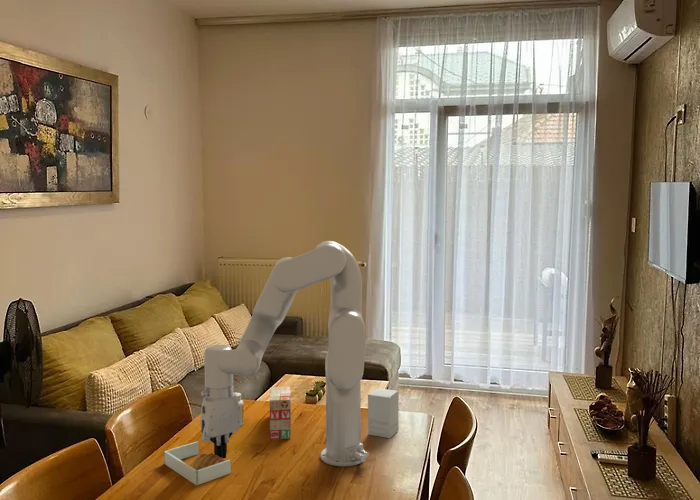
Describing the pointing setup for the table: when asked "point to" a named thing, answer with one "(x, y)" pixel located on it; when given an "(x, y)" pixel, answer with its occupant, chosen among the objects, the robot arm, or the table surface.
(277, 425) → the stack of blocks
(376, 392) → the supplement box
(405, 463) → the table surface
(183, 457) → the frame
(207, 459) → the pastry
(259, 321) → the robot arm
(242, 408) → the supplement bottle
